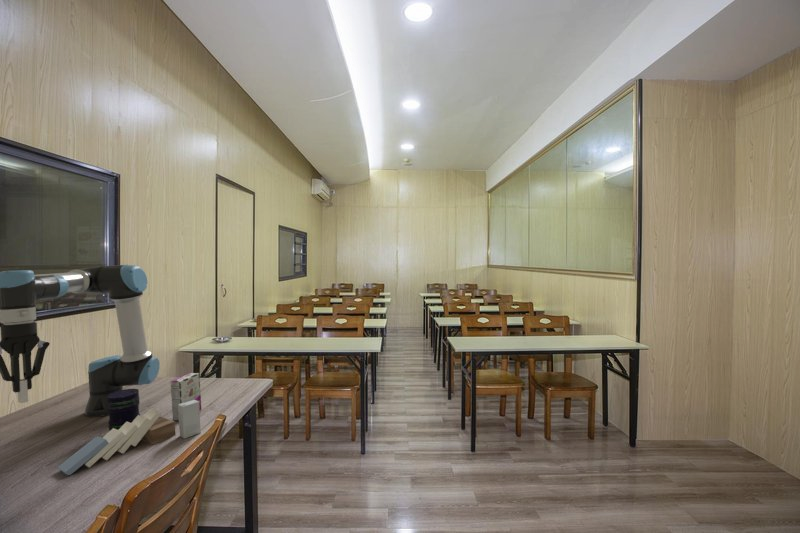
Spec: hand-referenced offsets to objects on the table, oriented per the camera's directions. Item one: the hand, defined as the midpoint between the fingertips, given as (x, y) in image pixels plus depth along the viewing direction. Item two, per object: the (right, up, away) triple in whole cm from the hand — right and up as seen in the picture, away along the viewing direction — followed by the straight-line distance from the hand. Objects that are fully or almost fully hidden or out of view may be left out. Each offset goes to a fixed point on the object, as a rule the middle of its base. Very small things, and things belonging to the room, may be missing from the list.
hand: (23, 401), depth 112 cm
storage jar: (+6, -24, +33) cm, 41 cm away
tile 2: (+13, -23, +13) cm, 29 cm away
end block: (+21, -23, +28) cm, 42 cm away
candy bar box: (+22, -23, +47) cm, 57 cm away
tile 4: (+17, -22, +20) cm, 34 cm away
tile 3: (+15, -23, +17) cm, 32 cm away
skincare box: (+33, -23, +29) cm, 50 cm away
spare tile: (+8, -23, +5) cm, 25 cm away
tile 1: (+10, -23, +9) cm, 27 cm away
